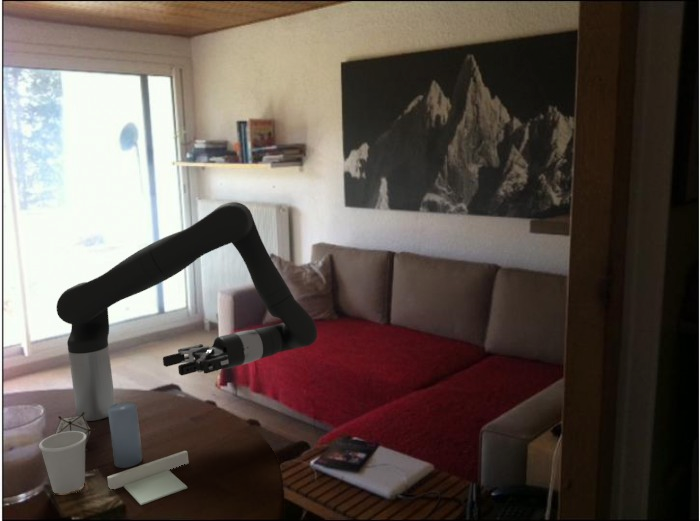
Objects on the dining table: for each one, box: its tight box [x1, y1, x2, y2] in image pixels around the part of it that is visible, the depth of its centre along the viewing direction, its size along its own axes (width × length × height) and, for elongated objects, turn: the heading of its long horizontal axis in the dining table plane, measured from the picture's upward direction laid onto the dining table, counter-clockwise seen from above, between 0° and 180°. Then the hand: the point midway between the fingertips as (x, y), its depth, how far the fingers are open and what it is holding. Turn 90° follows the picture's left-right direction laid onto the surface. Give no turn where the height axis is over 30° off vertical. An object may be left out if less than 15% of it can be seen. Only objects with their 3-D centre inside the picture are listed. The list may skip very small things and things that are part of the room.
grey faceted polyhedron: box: [54, 412, 95, 452], centre depth 142 cm, size 9×8×10 cm
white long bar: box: [106, 450, 190, 490], centre depth 129 cm, size 1×16×2 cm, turn 128°
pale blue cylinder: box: [108, 401, 144, 469], centre depth 135 cm, size 6×6×12 cm
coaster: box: [123, 470, 188, 506], centre depth 124 cm, size 9×9×1 cm
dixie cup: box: [38, 431, 86, 494], centre depth 125 cm, size 8×8×10 cm
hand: (171, 366), depth 140 cm, fingers open, 8 cm apart
